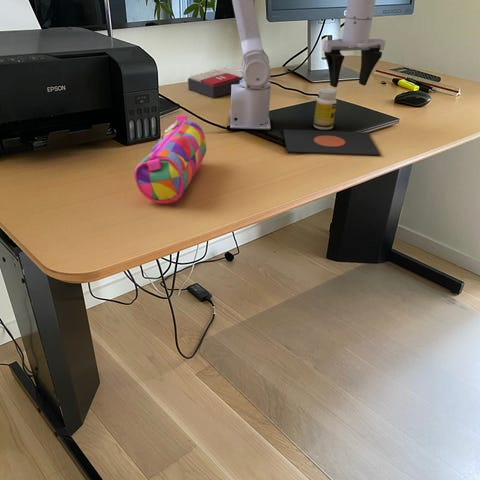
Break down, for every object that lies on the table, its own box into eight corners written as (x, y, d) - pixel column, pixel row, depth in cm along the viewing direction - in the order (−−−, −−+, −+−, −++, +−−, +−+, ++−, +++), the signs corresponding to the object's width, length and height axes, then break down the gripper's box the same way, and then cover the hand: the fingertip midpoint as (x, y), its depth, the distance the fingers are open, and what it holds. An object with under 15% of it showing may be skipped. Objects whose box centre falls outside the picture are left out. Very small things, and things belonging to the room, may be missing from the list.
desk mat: (287, 152, 109) (287, 150, 109) (283, 131, 120) (283, 128, 120) (379, 156, 109) (380, 153, 109) (367, 134, 120) (367, 131, 120)
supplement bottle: (332, 131, 121) (337, 93, 116) (312, 129, 122) (317, 92, 116) (333, 124, 125) (338, 88, 120) (314, 122, 125) (318, 86, 120)
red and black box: (186, 75, 142) (225, 65, 150) (188, 91, 145) (225, 80, 153) (213, 83, 136) (252, 72, 144) (214, 100, 139) (252, 88, 147)
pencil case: (162, 158, 104) (159, 113, 98) (207, 161, 103) (207, 116, 98) (134, 205, 87) (129, 153, 81) (188, 210, 87) (187, 158, 81)
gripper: (338, 21, 104) (328, 91, 112) (398, 20, 108) (384, 88, 117) (322, 15, 109) (314, 83, 117) (380, 14, 113) (368, 80, 122)
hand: (348, 85), depth 117 cm, fingers open, 7 cm apart
